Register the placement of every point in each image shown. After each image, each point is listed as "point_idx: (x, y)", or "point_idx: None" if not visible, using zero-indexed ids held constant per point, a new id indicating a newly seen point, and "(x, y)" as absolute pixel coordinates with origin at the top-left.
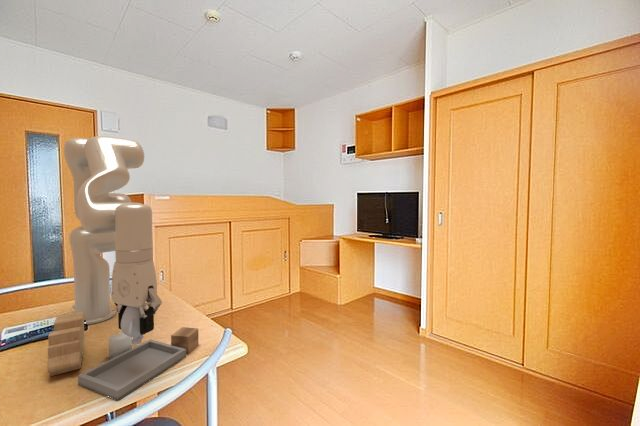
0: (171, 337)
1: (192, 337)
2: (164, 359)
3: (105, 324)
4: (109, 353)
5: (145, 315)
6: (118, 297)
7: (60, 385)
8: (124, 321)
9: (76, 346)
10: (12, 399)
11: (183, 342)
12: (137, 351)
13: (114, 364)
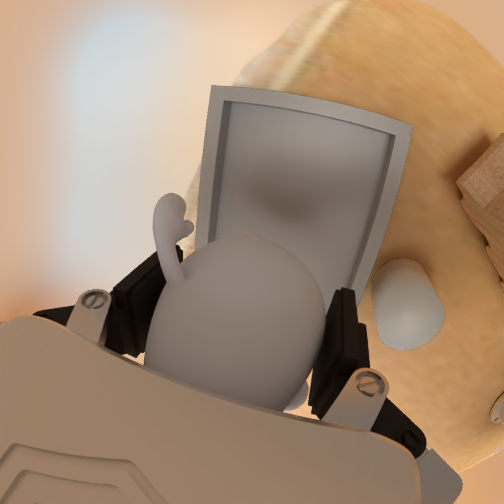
0: None
1: None
2: None
3: (497, 385)
4: (422, 271)
5: (79, 297)
6: (264, 492)
7: (449, 122)
8: (238, 273)
9: (499, 210)
10: (494, 68)
11: None
12: None
13: (369, 223)
